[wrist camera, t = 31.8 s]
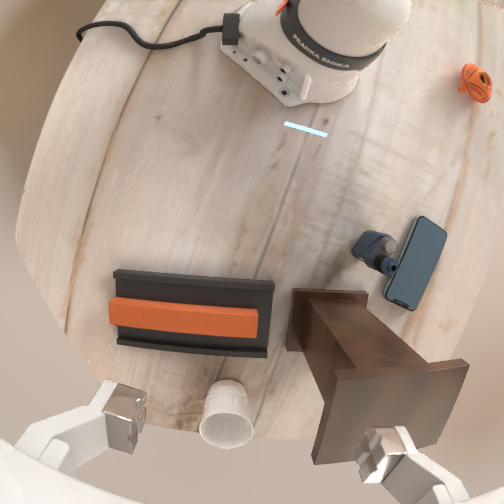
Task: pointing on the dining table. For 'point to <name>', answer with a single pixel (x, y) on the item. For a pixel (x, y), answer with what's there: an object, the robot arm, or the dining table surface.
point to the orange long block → (184, 317)
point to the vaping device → (377, 252)
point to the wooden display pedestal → (367, 374)
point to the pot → (476, 83)
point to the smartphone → (416, 264)
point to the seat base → (197, 293)
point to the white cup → (226, 416)
